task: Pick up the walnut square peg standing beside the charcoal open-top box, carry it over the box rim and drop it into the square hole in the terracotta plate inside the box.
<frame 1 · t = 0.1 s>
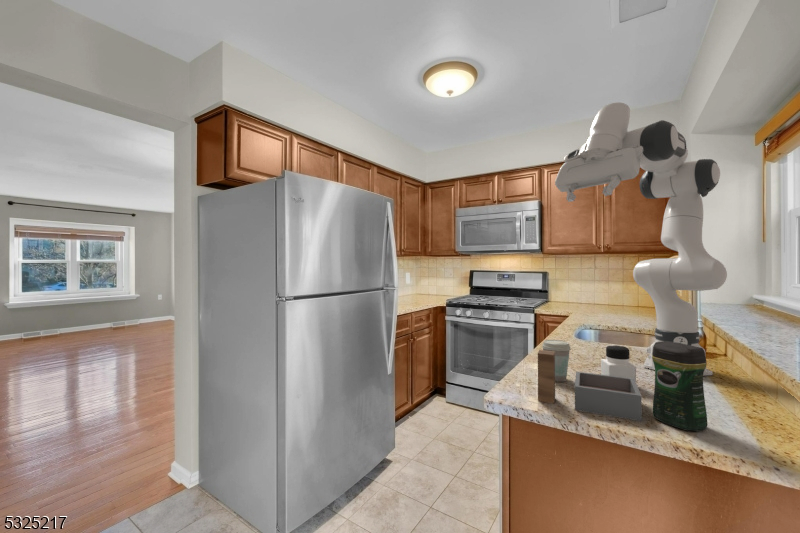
hand: (587, 197, 89), 54 cm above the worktop, tool tilted 30°, fingers open, 8 cm apart
medicine bottle: (617, 386, 105), on the worktop
peg: (546, 399, 95), on the worktop
coffee cup: (556, 379, 112), on the worktop
box: (605, 405, 91), on the worktop
coffee jar: (678, 423, 80), on the worktop
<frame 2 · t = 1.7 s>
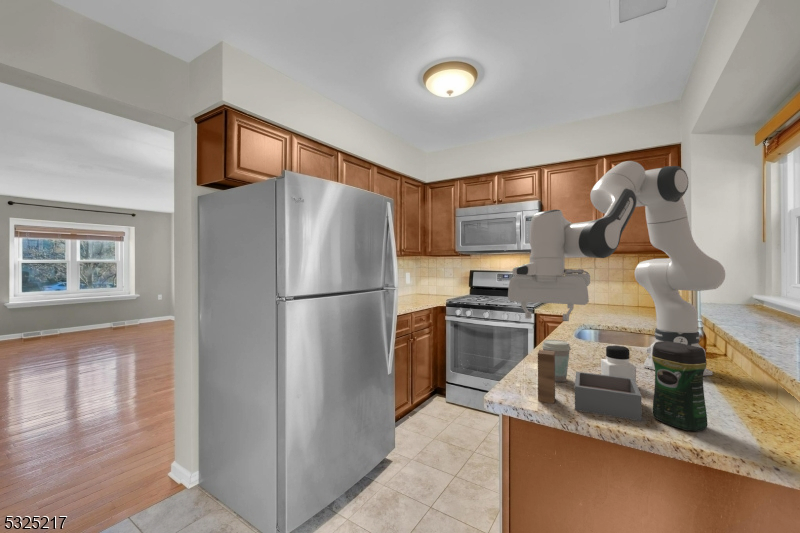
hand: (546, 319, 94), 22 cm above the worktop, tool pointing down, fingers open, 8 cm apart
nothing on the worktop moved.
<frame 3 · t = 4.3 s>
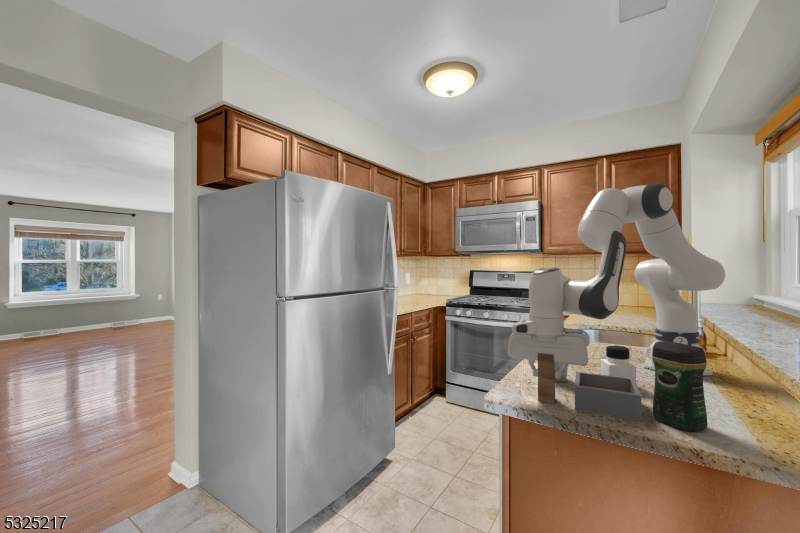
hand: (546, 377, 95), 6 cm above the worktop, tool pointing down, fingers closed on peg, 4 cm apart
peg: (546, 399, 95), on the worktop, touching gripper
everything else where it was.
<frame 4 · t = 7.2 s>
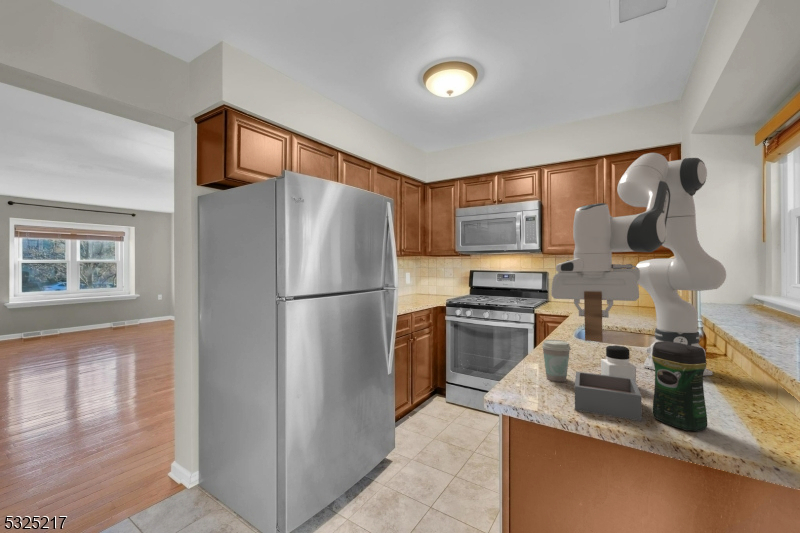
hand: (593, 316, 92), 23 cm above the worktop, tool pointing down, fingers closed on peg, 4 cm apart
peg: (593, 339, 92), point 17 cm above the worktop, touching gripper
everything else where it was.
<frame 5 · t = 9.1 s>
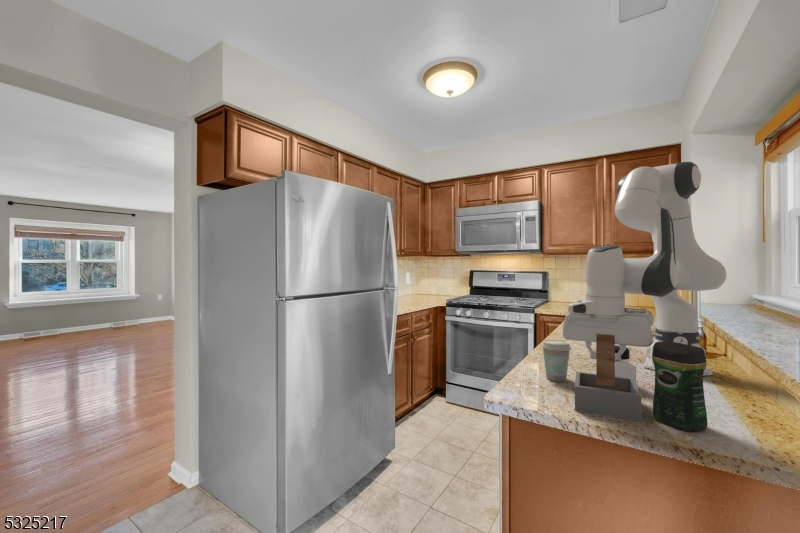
hand: (605, 359, 91), 12 cm above the worktop, tool pointing down, fingers closed on peg, 4 cm apart
peg: (605, 382, 91), point 6 cm above the worktop, touching gripper
everything else where it was.
when the fingers open (7 cm above the worktop, at t = 10.4 s): peg stays where it is, resting in box.
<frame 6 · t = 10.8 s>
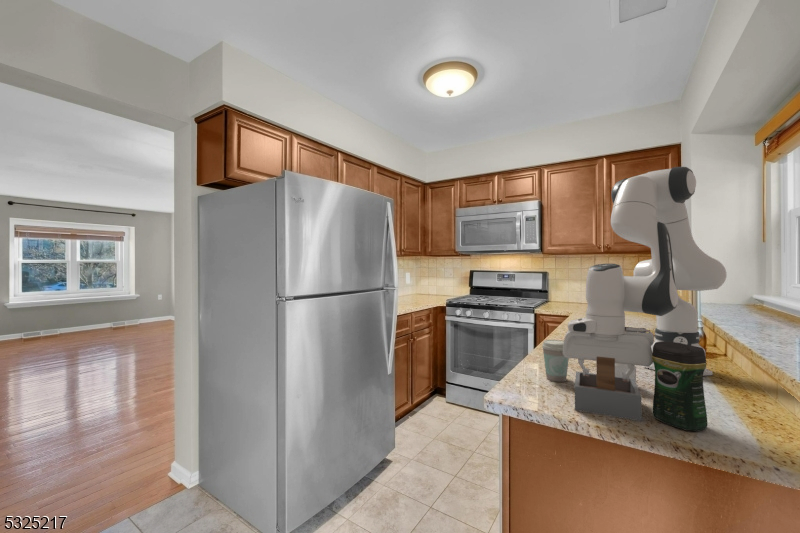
hand: (605, 378, 91), 7 cm above the worktop, tool pointing down, fingers open, 8 cm apart
peg: (605, 405, 91), resting in box
everything else where it was.
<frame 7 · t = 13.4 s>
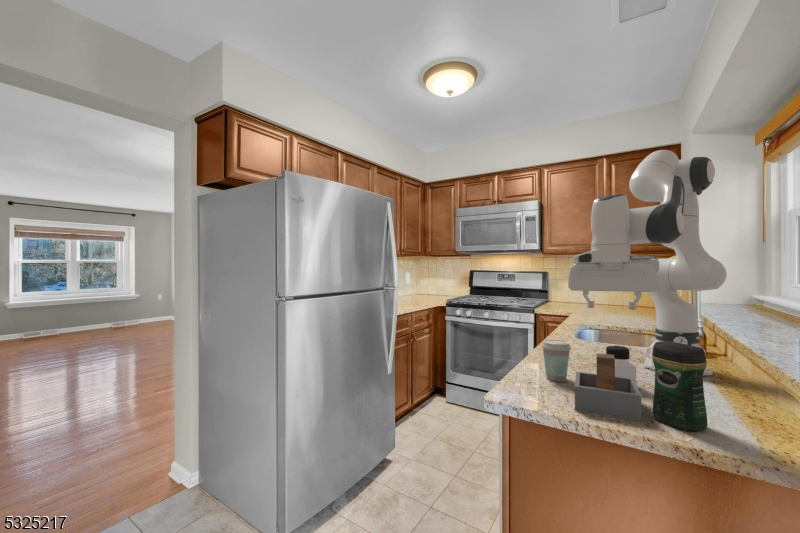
hand: (611, 308, 91), 25 cm above the worktop, tool pointing down, fingers open, 8 cm apart
nothing on the worktop moved.
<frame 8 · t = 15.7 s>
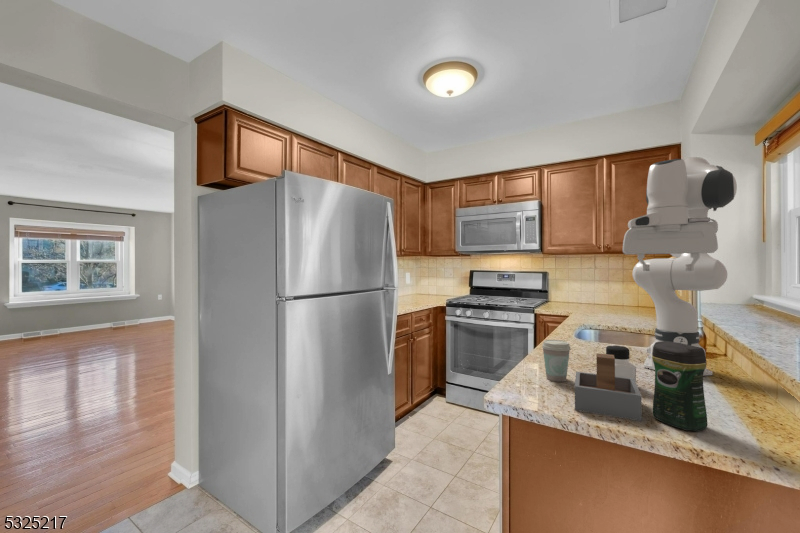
hand: (667, 270, 93), 35 cm above the worktop, tool pointing down, fingers open, 8 cm apart
nothing on the worktop moved.
at the end: peg 0.0 cm off-centre on the box, point 0.0 cm above the box's base; peg tilted 0°; the gripper is holding nothing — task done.
